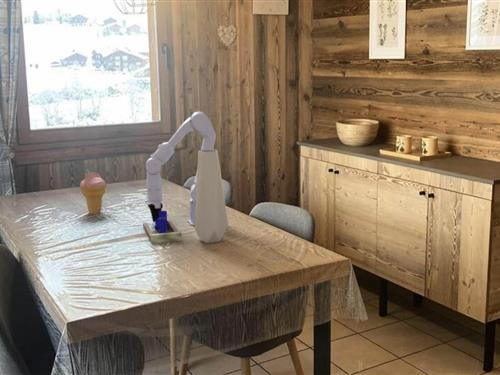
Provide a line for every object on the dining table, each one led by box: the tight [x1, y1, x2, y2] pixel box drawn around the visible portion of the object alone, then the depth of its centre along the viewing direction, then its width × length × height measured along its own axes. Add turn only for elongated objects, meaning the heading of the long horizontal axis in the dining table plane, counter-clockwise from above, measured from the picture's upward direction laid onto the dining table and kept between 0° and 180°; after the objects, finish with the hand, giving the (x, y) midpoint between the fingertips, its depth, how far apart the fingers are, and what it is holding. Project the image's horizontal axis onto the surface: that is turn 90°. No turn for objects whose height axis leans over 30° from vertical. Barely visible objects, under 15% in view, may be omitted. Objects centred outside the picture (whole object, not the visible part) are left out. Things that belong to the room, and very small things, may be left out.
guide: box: [142, 219, 183, 244], centre depth 229 cm, size 11×22×3 cm, turn 17°
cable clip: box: [154, 210, 168, 234], centre depth 234 cm, size 12×4×6 cm, turn 7°
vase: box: [194, 149, 229, 244], centre depth 218 cm, size 12×12×33 cm
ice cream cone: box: [79, 165, 107, 215], centre depth 259 cm, size 11×11×20 cm
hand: (155, 221), depth 242 cm, fingers closed
